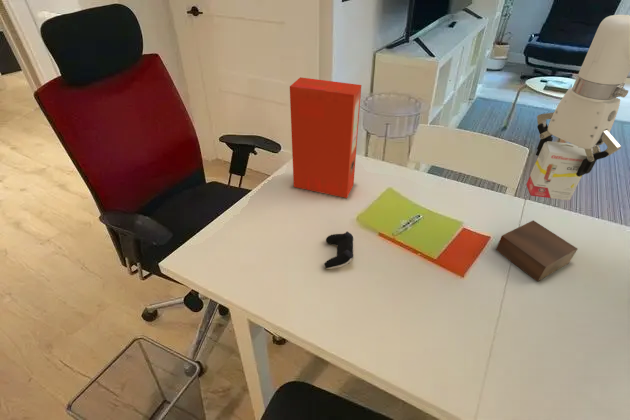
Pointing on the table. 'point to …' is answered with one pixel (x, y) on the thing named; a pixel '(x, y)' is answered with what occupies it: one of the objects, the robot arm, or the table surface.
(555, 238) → the walnut block
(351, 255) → the gaming controller
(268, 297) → the table surface
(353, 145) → the file binder
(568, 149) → the ink box
